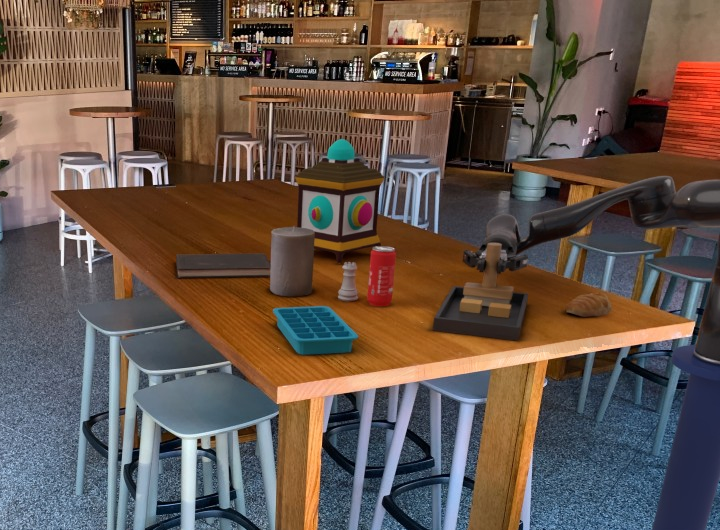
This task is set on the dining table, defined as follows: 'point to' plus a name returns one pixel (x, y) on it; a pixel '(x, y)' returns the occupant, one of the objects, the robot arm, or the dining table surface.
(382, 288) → the beverage can
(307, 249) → the pillar candle
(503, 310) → the block
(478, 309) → the light wooden block
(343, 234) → the decorative lantern
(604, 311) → the pastry
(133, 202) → the dining table surface
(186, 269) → the hardcover book
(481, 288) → the brush
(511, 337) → the tray
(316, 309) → the ice cube tray
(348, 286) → the rook chess piece
